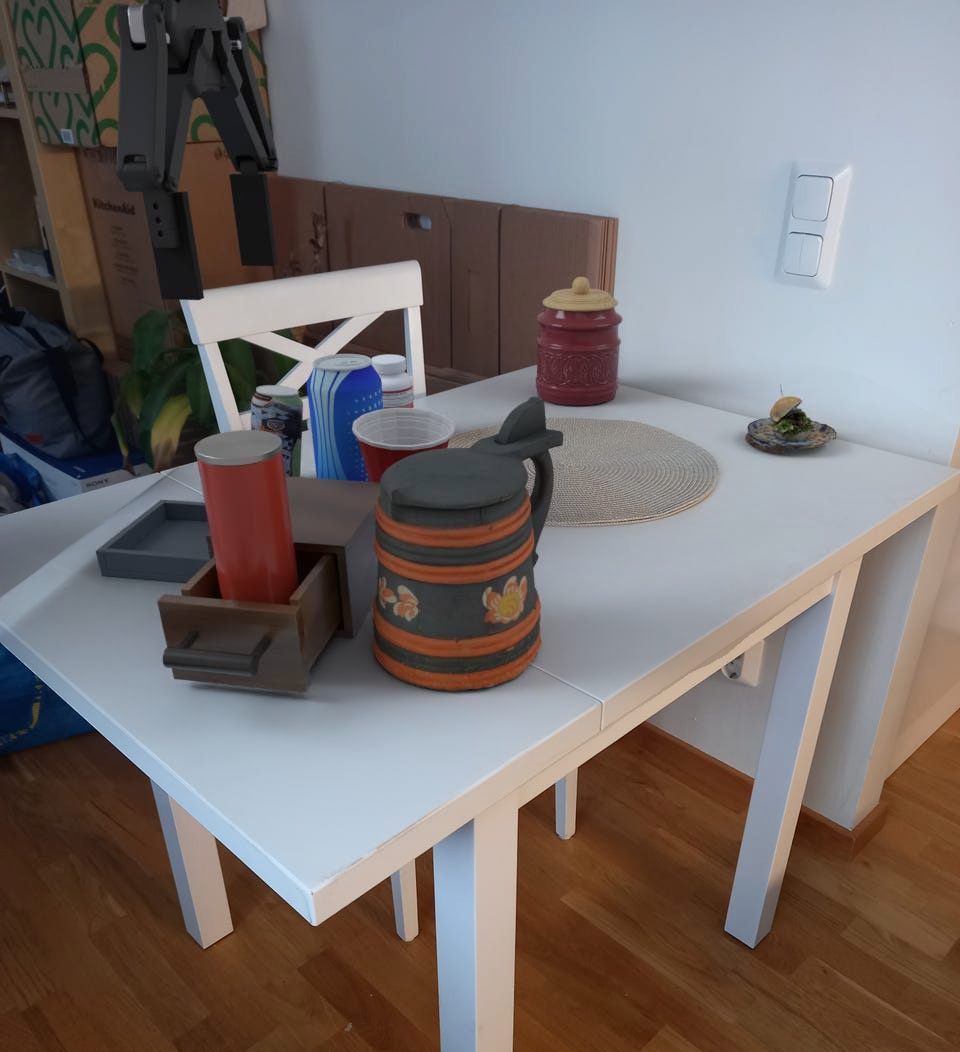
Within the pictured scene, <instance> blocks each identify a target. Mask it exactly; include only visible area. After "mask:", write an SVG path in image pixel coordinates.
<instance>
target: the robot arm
mask: <svg viewBox="0 0 960 1052" xmlns="http://www.w3.org/2000/svg"><path fill="white" fill-rule="evenodd" d="M115 16H116V24H117V31H118V33H117V34H118V39H119V40H118V41H119V46H120V53H119V54H120V55H119V79H118V81H119V82H118V83H119V84H118V111H117V113H118V114H117V139H116V140H117V142H116V143H117V144H116V168H115V169H116V175H117V178H118V180H119V181H120V182H121V183H122V185H123V188H124V190H125V191H126V192H129V193H142V198H143V203H144V210H145V214H146V215H145V216H146V220H147V226H148V231H149V235H150V237H149V238H150V243H151V247H152V252H153V259H154V264H155V270H156V275H157V281H158V285H159V286H158V287H159V291H160V297H161V298H160V299H161V300H174V301H175V300H176V301H201V300H203V299H205V294H204V288H203V282H202V275H201V270H200V263H199V256H198V251H197V244H196V238H195V232H194V225H193V218H192V213H191V206H190V199H189V192H188V191H184V190H183V191H180V190H179V187H180V182H181V181H180V180H181V176H182V175H181V174H182V169H183V164H184V157H185V151H186V145H187V140H188V135H189V134H188V133H189V127H190V121H191V116H192V110H193V104H194V101H195V100H197V99H200V100H202V101H203V104H204V106H205V108H206V110H207V112H208V114H209V116H210V119H211V121H212V123H213V125H214V127H215V129H216V132H217V134H218V136H219V138H220V140H221V142H222V145H223V147H224V150H225V152H226V154H227V155H228V157H229V160H230V162H231V164H232V167H233V169H234V171H235V172H236V173H229V183H230V189H231V198H232V205H233V212H234V220H235V227H236V228H235V229H236V235H237V243H238V250H239V257H240V263H241V266H242V267H276V266H277V265H278V260H277V251H276V243H275V236H274V233H275V232H274V225H273V217H272V216H273V215H272V208H271V199H270V192H269V183H268V182H269V181H268V173H277V172H278V171H279V158H278V153H277V148H276V144H275V142H274V138H273V137H274V136H273V134H272V130H271V127H270V123H269V119H268V117H267V112H266V109H265V105H264V101H263V98H262V94H261V91H260V87H259V84H258V80H257V77H256V73H255V69H254V66H253V65H254V64H253V62H252V58H251V54H250V49H249V43H248V36H247V30H246V25H245V21H244V18H243V17H242V16H224V13H223V9H222V5H221V0H143V3H134V4H133V3H132V4H131V3H129V4H117V6H116V8H115Z"/></svg>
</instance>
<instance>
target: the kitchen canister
mask: <svg viewBox="0 0 960 1052" xmlns="http://www.w3.org/2000/svg"><path fill="white" fill-rule="evenodd" d="M542 305H543V306H544V310H543V311H542V312H540V313H539V314H538V315H537V316H536V321H537V323H538V324H539V335H538V336H537V338H536V345H537V349H536V351H537V352H536V354H537V355H536V377H535V388H536V395H537V397H539V398H542V399H543V401H544V402H548V403H552V404H557V405H564V406H593V405H600V404H603V403H607V402H609V401H612V400H613V399H615V397H616V396H617V391H618V389H619V382H620V381H619V363H620V362H619V361H620V346H621V343H622V340H621V338H620V337H619V326H620V325H621V324H622V322H623V321H624V320H623V319H624V318H623V316H622V315H621V314H620V313H619V312H617V310H616V307H617V306H618V305H619V301H618V300H617V298H615V297H613V296H612V295H611V294H610V293H609V292H608V291H606V290H602V289H597V288H591V284H590V281H589V279H588V278H587V277H585V276H578V277H576V278H574V280H573V282H572V285H571V288H563V289H557V290H555V291H553V292H552V293H551V294H550V295H549V296H547V297H545V298H544V299H543V300H542Z"/></svg>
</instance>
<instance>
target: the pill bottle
mask: <svg viewBox="0 0 960 1052" xmlns="http://www.w3.org/2000/svg"><path fill="white" fill-rule="evenodd" d="M371 359H372V366H373V367H374V369H375V370H376V372H377V373H378V375H379V376H380V378H381V381H382V395H383V409H390V408H415V407H414V387H413V386H414V385H413V379H412V377H411V375H410V374H409V373H407V372H405V371H406V370H407V358H406V357H405V356H404V355H403V356H402V355H400V354H392V353H391V354H389V353H388V354H379V355H375V356H373V357H371Z"/></svg>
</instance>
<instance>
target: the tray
mask: <svg viewBox="0 0 960 1052" xmlns="http://www.w3.org/2000/svg"><path fill="white" fill-rule="evenodd" d="M209 532H210V530H209V524H208V519H207V513H206V507H205V502H204V501H189V500H175V499H160V500H158V501H157V502H156V503H155V504H153V505H152V506H151V507H149V508H148V509H147V510H146V511H144V512H143V513H142V514H141V515H139V516H138V517H137V518H135V519H134V520H133V521H131V522H130V523H129V524H128V525H127V526H126V527H124V528H123V529H122V530H120V531H119V532H118V533H116V534H115V535H114V536H113V537H111V538H110V539H109V540H107V541H106V542H104V544H102V545H101V546H99V548H97V549H96V550H95V554H96V558H97V563H98V566H99V570H100V574H101V576H102V577H103V576H104V577H114V578H124V579H125V578H127V579H138V580H149V581H161V582H162V581H163V582H173V583H185V584H186V583H187V582H188V581H189V580H190V579H191V578H192V577H194V576H195V575H196V574H197V573H198V572H199V571H200V570H201V569H202V568H203V567H204V566H205V565H206V564H207V563H208V562H209V561H210V556H209V551H208V545H207V540H206V535H207V534H208V533H209Z"/></svg>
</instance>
